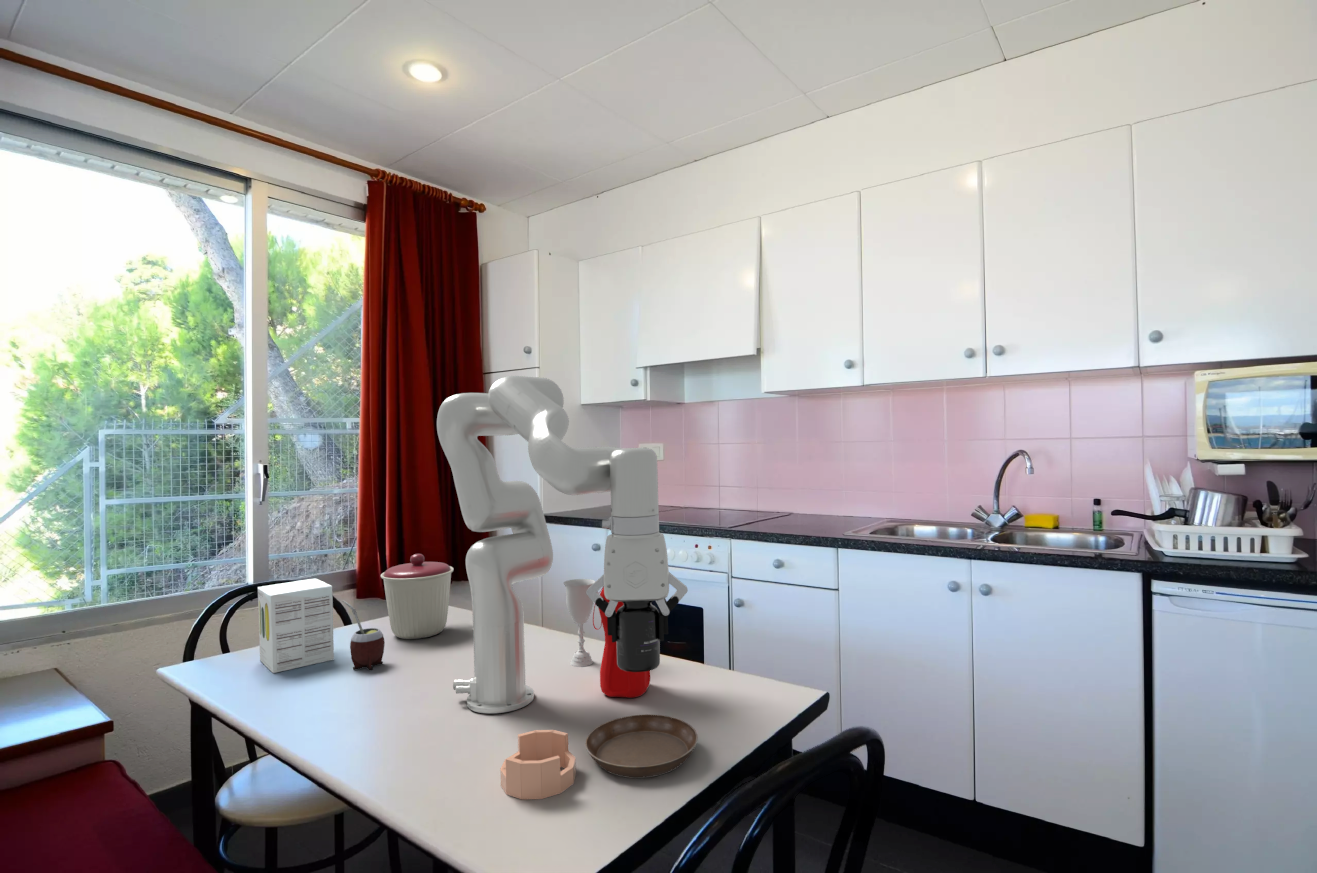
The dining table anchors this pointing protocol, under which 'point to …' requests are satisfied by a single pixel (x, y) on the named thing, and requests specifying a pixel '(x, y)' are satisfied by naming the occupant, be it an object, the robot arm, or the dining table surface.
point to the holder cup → (539, 766)
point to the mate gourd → (366, 646)
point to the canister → (417, 597)
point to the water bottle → (611, 675)
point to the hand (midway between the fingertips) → (638, 638)
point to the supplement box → (295, 624)
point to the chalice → (579, 615)
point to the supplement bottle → (637, 636)
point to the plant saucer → (641, 745)
